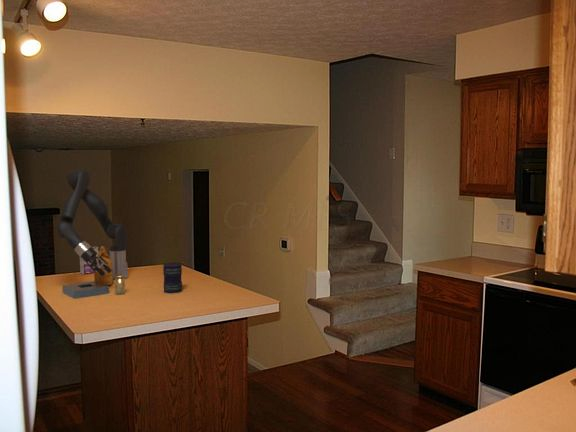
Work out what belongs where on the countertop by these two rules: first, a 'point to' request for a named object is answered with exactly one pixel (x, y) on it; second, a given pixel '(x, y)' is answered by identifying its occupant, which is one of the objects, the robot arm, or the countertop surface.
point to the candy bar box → (84, 265)
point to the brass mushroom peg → (119, 284)
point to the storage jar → (172, 277)
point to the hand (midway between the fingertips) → (107, 273)
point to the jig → (85, 289)
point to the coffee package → (108, 277)
